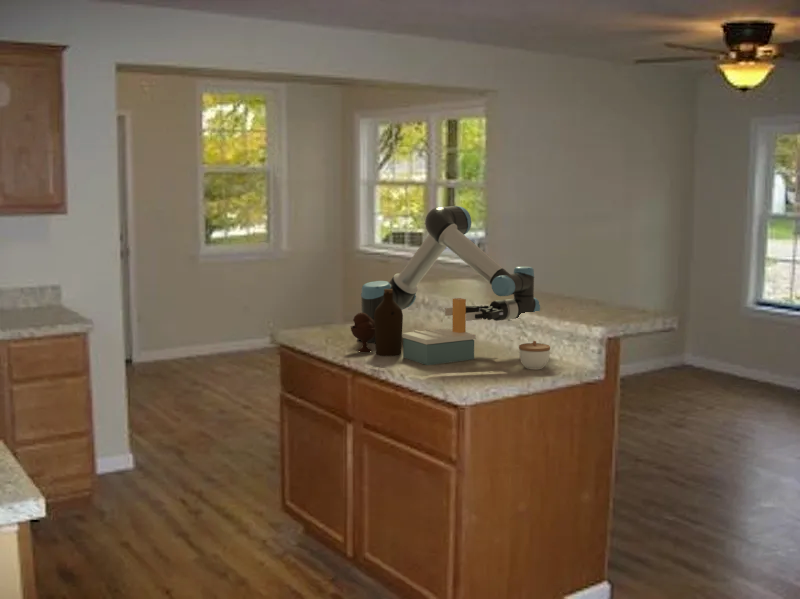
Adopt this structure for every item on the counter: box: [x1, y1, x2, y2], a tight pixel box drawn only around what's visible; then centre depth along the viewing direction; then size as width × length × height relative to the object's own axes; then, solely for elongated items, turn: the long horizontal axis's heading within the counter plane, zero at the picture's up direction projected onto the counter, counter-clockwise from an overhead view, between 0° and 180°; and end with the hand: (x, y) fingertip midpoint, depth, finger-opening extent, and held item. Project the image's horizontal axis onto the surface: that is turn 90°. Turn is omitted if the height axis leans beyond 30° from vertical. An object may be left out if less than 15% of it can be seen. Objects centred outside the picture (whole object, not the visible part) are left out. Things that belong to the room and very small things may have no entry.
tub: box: [402, 338, 475, 366], centre depth 323 cm, size 16×20×8 cm
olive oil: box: [374, 289, 404, 357], centre depth 330 cm, size 11×11×25 cm
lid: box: [402, 297, 476, 345], centre depth 321 cm, size 17×21×14 cm
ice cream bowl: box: [350, 312, 375, 353], centre depth 341 cm, size 11×11×15 cm
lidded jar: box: [518, 340, 551, 371], centre depth 310 cm, size 11×11×9 cm
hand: (455, 314), depth 324 cm, fingers open, 13 cm apart
